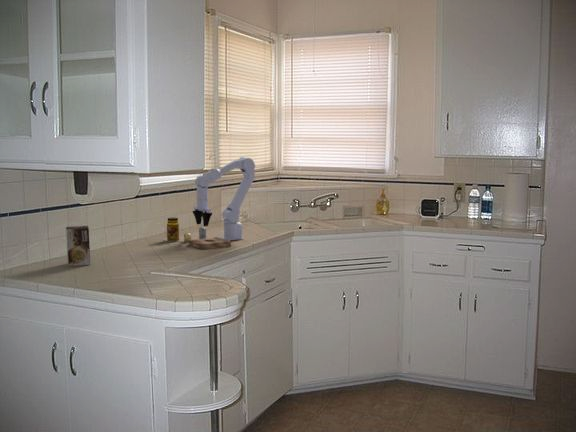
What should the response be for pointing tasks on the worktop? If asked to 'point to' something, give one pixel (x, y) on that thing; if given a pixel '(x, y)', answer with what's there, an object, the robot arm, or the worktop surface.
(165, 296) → the worktop surface
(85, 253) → the coffee box
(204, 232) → the grey cylinder
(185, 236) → the short stub
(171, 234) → the condiment
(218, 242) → the hole block
